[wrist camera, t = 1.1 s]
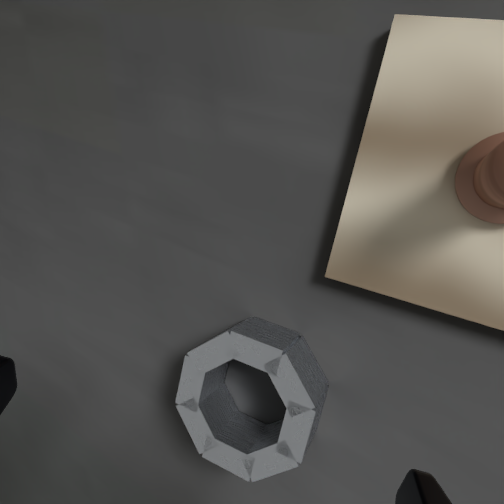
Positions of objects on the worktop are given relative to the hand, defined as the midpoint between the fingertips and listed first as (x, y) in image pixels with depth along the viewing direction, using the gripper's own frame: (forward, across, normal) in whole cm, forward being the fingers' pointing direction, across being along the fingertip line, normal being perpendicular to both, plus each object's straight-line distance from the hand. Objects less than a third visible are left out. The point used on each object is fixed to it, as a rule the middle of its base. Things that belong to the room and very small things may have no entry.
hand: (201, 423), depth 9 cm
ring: (+10, -1, +9) cm, 14 cm away
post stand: (+12, -9, -4) cm, 16 cm away
